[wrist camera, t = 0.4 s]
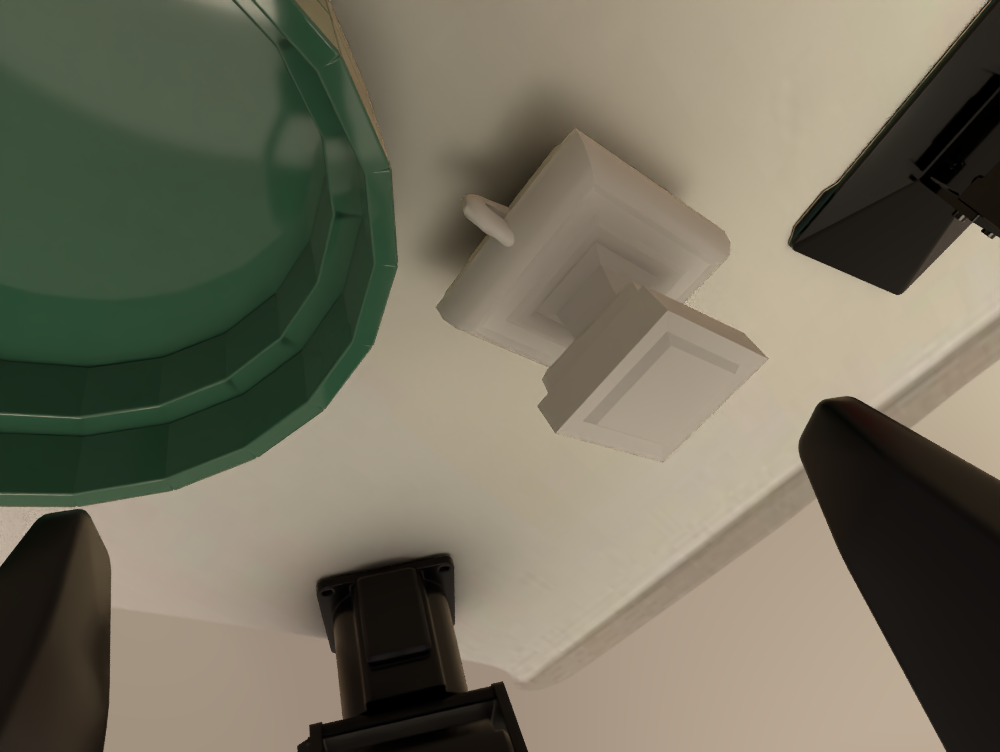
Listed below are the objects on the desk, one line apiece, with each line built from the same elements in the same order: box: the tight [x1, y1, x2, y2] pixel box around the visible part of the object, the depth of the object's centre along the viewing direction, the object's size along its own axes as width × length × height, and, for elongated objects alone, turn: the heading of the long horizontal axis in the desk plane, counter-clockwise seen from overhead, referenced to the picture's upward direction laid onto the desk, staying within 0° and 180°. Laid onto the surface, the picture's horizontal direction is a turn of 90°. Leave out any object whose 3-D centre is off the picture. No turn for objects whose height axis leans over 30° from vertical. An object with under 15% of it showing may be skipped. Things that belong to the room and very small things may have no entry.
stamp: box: [436, 128, 768, 462], centre depth 22 cm, size 9×7×8 cm
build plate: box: [789, 0, 1000, 295], centre depth 25 cm, size 12×7×5 cm, turn 151°
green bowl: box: [0, 0, 398, 507], centre depth 17 cm, size 16×16×5 cm
